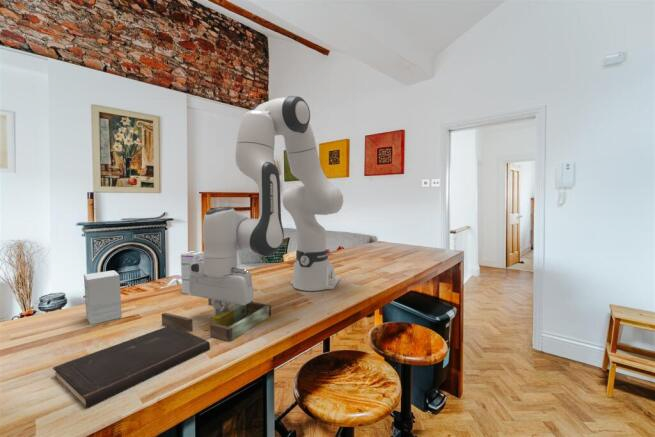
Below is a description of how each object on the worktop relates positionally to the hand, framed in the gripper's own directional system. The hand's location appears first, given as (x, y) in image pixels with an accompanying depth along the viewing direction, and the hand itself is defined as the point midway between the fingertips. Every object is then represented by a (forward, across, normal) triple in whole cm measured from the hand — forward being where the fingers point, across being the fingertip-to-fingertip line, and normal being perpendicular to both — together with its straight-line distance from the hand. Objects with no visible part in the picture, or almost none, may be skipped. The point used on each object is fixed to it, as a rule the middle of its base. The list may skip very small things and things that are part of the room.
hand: (220, 315), depth 83 cm
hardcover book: (+3, +1, +23) cm, 23 cm away
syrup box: (+2, +28, -16) cm, 32 cm away
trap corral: (+2, +1, -3) cm, 3 cm away
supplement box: (+2, +32, +12) cm, 34 cm away
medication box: (+2, -3, 0) cm, 4 cm away
